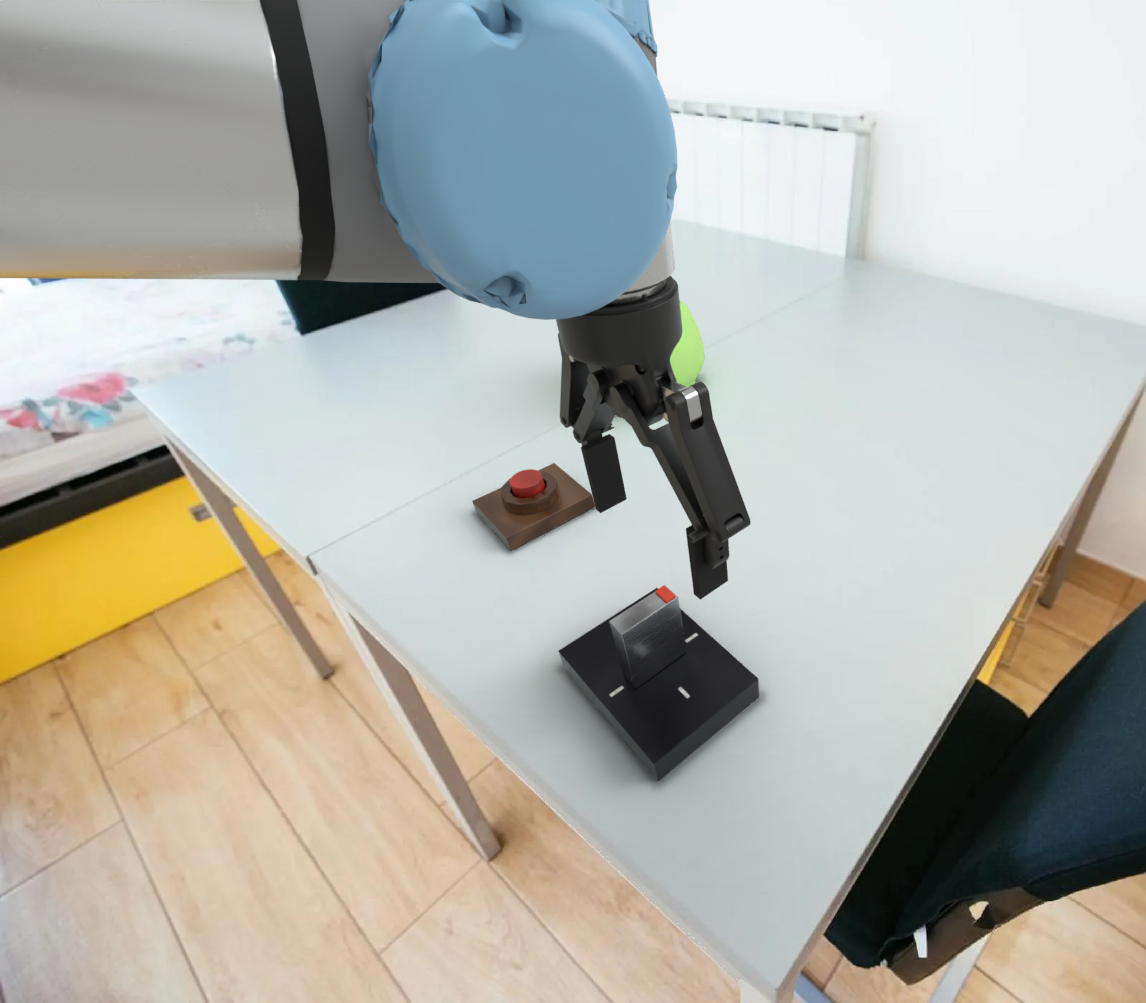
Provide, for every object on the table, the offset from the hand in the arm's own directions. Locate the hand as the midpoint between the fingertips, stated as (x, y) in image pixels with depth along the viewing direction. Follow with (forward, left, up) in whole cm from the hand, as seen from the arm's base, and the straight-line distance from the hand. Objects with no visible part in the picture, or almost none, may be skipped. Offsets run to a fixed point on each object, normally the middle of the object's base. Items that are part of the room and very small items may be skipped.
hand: (657, 543), depth 50 cm
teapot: (+30, +51, -18) cm, 62 cm away
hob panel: (-2, +1, -18) cm, 18 cm away
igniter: (+2, +34, -18) cm, 38 cm away
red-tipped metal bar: (-2, +1, -15) cm, 15 cm away
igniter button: (+2, +34, -15) cm, 37 cm away
